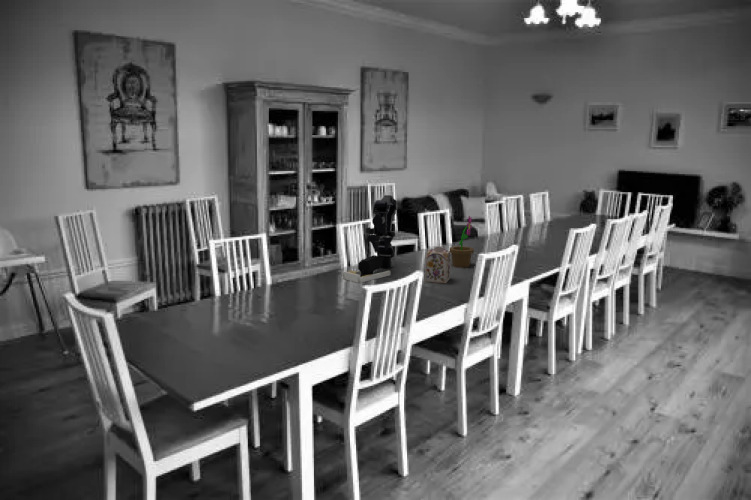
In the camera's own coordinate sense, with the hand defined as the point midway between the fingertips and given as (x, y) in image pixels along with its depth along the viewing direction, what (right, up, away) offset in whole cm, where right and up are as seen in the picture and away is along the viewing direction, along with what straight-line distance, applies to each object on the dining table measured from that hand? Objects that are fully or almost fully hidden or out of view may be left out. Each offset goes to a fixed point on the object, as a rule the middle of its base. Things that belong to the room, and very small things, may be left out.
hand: (380, 251), depth 320 cm
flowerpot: (+47, -9, +23) cm, 53 cm away
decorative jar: (+30, -16, -12) cm, 36 cm away
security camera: (-6, -14, -6) cm, 16 cm away
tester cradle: (-8, -14, -7) cm, 17 cm away
